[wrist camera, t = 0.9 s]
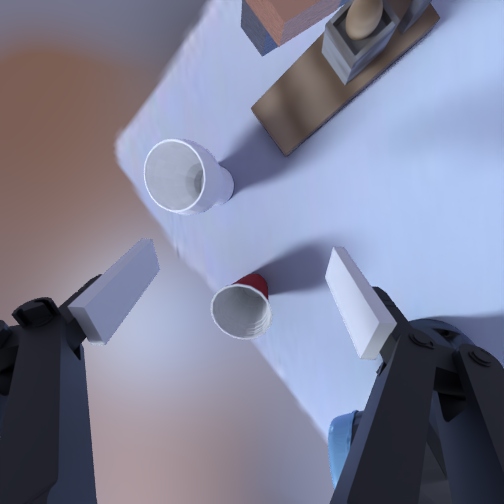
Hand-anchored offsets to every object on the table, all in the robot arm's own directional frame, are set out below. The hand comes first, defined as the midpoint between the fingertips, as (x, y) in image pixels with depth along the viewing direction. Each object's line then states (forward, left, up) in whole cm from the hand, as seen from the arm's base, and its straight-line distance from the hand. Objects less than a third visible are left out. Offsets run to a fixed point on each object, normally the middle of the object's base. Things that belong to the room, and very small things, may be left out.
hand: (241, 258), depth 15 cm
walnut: (+14, -25, -19) cm, 34 cm away
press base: (+14, -22, -27) cm, 37 cm away
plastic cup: (-8, +12, -27) cm, 31 cm away
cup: (+14, +5, -27) cm, 31 cm away
